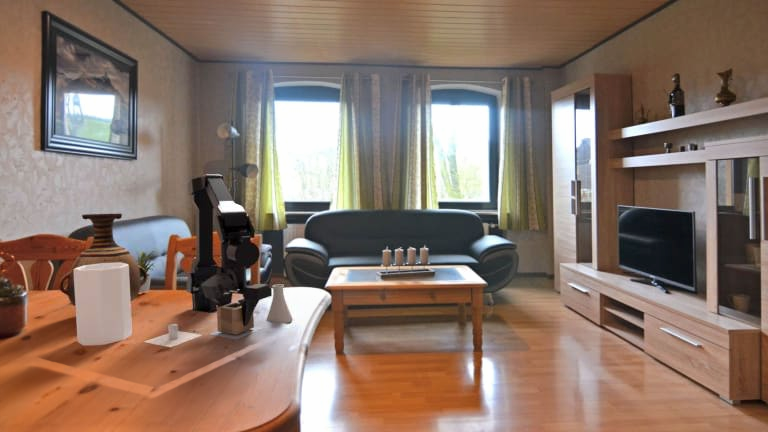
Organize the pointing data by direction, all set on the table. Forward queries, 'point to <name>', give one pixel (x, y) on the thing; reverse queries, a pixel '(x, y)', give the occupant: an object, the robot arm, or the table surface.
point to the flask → (279, 306)
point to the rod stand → (173, 337)
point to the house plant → (143, 264)
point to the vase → (105, 255)
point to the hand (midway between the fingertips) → (235, 324)
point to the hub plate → (235, 334)
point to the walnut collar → (232, 319)
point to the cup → (102, 303)
